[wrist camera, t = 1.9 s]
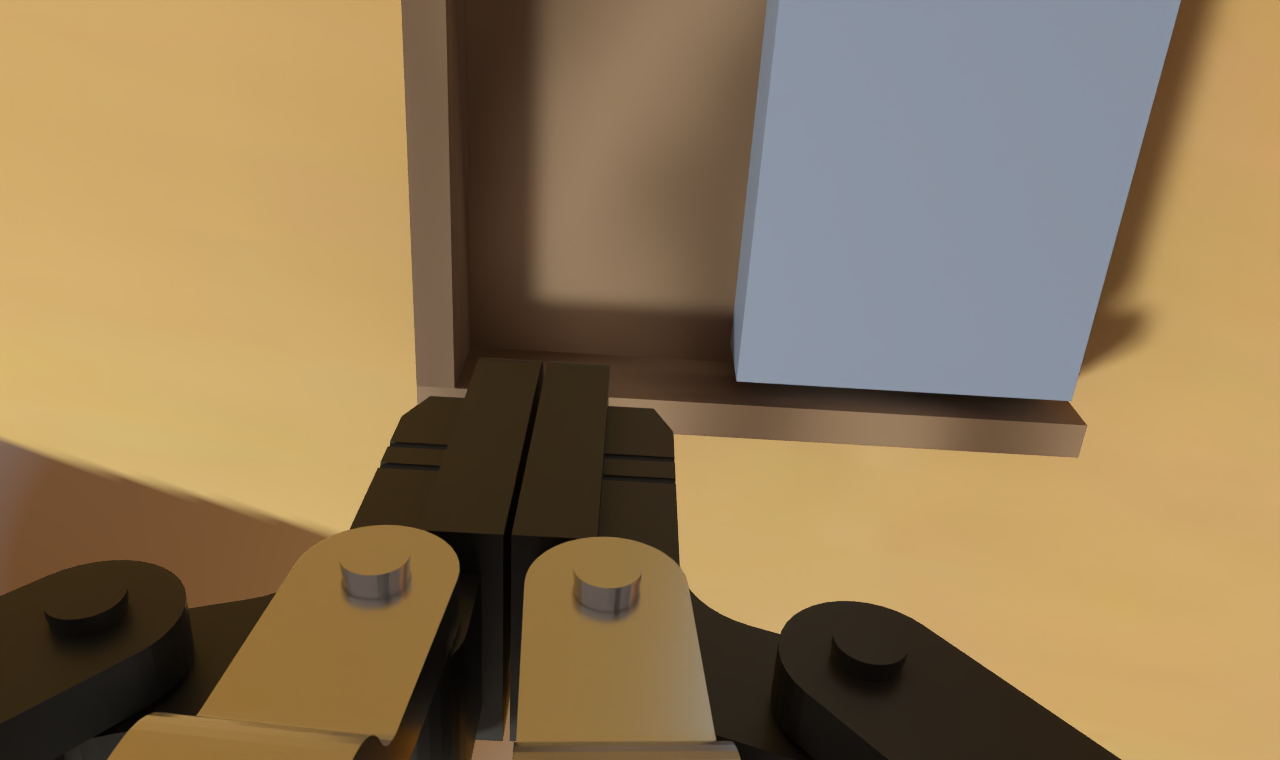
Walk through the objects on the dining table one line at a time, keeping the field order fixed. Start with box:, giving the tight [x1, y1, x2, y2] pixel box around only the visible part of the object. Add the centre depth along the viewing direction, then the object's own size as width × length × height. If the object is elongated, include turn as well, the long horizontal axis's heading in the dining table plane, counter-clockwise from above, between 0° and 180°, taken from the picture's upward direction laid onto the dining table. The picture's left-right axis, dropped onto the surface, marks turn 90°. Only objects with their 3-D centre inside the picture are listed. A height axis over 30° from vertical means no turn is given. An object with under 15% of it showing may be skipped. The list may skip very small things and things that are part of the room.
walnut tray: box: [401, 0, 1087, 458], centre depth 26 cm, size 18×15×4 cm
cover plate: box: [731, 0, 1181, 401], centre depth 26 cm, size 9×12×2 cm
